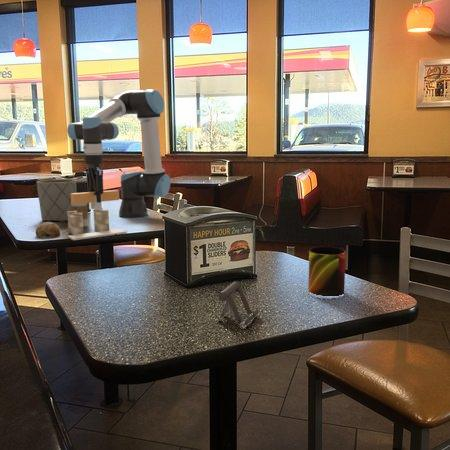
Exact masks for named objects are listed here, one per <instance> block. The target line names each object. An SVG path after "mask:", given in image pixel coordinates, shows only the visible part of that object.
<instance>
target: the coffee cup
mask: <svg viewBox="0 0 450 450" xmlns="http://www.w3.org/2000/svg"><path fill="white" fill-rule="evenodd" d="M70 201H71V196H70ZM88 207H89V205H88V203H80V204H73V203H71V209H72V211H77V213H82V216H83V228H84V227H88V209H89V208H88Z"/></svg>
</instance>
